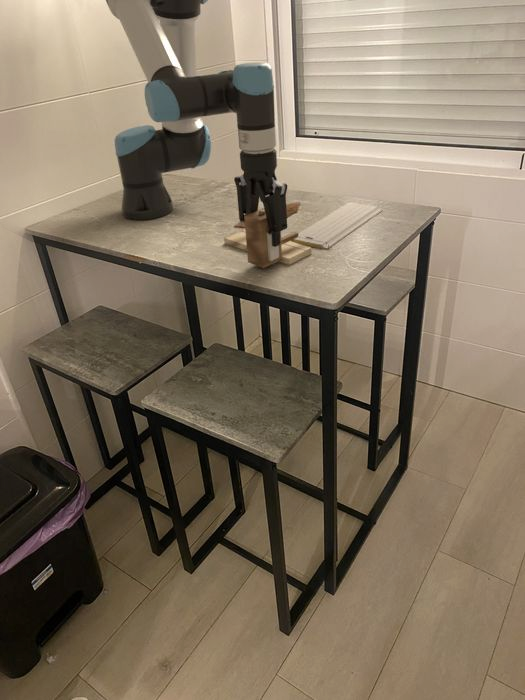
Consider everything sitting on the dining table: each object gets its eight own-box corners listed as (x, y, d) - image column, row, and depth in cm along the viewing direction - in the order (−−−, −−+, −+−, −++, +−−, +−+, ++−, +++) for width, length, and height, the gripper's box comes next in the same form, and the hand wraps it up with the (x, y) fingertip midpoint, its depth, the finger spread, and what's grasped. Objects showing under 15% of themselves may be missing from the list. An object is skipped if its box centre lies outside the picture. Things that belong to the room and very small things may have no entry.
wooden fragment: (248, 233, 141) (248, 229, 141) (223, 224, 148) (222, 220, 148) (316, 208, 155) (316, 204, 154) (290, 201, 162) (289, 197, 161)
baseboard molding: (387, 213, 148) (348, 207, 154) (388, 203, 146) (349, 197, 153) (332, 253, 128) (290, 244, 134) (332, 241, 126) (290, 233, 132)
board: (224, 243, 135) (224, 237, 134) (247, 233, 140) (246, 228, 139) (289, 264, 122) (288, 258, 121) (311, 253, 127) (311, 247, 126)
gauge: (248, 262, 122) (243, 213, 115) (288, 243, 130) (287, 195, 123) (263, 268, 118) (260, 217, 112) (304, 247, 127) (303, 199, 120)
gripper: (214, 148, 112) (225, 251, 124) (277, 159, 101) (283, 271, 113) (240, 140, 116) (248, 241, 129) (303, 150, 105) (305, 259, 118)
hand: (264, 255), depth 121 cm, fingers closed on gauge, 5 cm apart
